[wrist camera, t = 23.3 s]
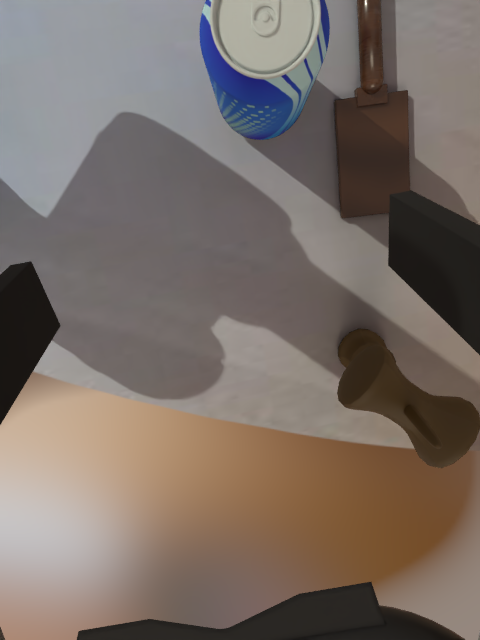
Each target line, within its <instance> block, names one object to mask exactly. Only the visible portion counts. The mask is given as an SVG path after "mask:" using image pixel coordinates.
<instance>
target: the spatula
mask: <svg viewBox="0 0 480 640" xmlns="http://www.w3.org/2000/svg"><path fill="white" fill-rule="evenodd" d="M357 10H358V32H359V55H360V78H361V88H357V89H356V90H355V98H347V99H340V100H335V102H334V108H335V125H336V143H337V160H338V177H339V194H340V211H341V218H348V217H357V216H365V215H373V214H382V213H389V203H390V194H395V193H400V192H406V191H410V178H409V128H408V90H406V91H398V92H391V93H387V84H383V55H382V24H381V0H357Z"/></svg>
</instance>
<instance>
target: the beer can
mask: <svg viewBox="0 0 480 640" xmlns="http://www.w3.org/2000/svg"><path fill="white" fill-rule="evenodd" d="M329 29H330V26H329V16H328V10H327V6H326V3H325V0H206V2H205V5H204V8H203V11H202V16H201V22H200V45H201V51H202V55H203V58H204V61H205V65H206V68H207V71H208V74H209V77H210V81H211V84H212V87H213V90H214V93H215V96H216V100H217V103H218V106H219V109H220V112H221V114H222V116H223V118H224V119H225V121H226V122H227V123H228V125H229V126H230V127H231V128H232V129H233V130H235V131H236V132H237V133H239V134H241V135H242V136H245V137H247V138H251V139H257V140H264V139H270V138H274V137H276V136H278V135H281V134H282V133H284V132H285V131H287V130H288V129H289V128H290V127H291V126H292V125H293V124H294V123H295V121H296V120H297V119H298V117H299V115H300V113H301V111H302V109H303V107H304V105H305V102H306V100H307V98H308V95H309V93H310V91H311V88H312V86H313V84H314V82H315V79H316V77H317V75H318V72H319V70H320V68H321V65H322V63H323V61H324V58H325V55H326V51H327V47H328V42H329Z"/></svg>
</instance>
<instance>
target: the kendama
mask: <svg viewBox="0 0 480 640" xmlns="http://www.w3.org/2000/svg"><path fill="white" fill-rule="evenodd" d="M338 357H339V359H340V361H341V363H342V364H343V365H344V366H345V367H346V370H345V371H344V373H343V375H342V377H341V379H340V381H339V386H338V392H337V394H338V399H339V401H340V402H341V403H342V404H343V405H344V406H345V407H346V408H349V409H355V410H364V411H371V412H376V413H379V414H381V415H383V416H385V417H387V418H389V419H391V420H392V421H394V422H395V423H397V424H398V425H399V426H401V427H402V428H403V429H404V430H405V432H406V433H407V434H408V436H409V438H410V439H411V442H412V444H413V446H414V448H415V450H416V452H417V454H418V455H419V457H420V458H421V459H422V460H423V461H424V462H426V464H428V465H429V466H433V467H438V468H443V467H446V466H448V465H451V464H453V463H455V462H456V461H457V460H458V459H460V458H461V457H462V456H463V455H464V454H466V453H467V451H468V450H469V448H470V447H471V446H472V444H473V443H474V441H475V440H476V438H477V435H478V432H479V429H480V417H479V413H478V411H477V410H476V408H475V407H474V406H473V404H472V403H471V402H469V401H467V400H465V399H463V398H460V397H447V396H434V395H430V394H428V393H426V392H424V391H423V390H421V389H420V388H418V387H417V386H415V385H414V384H413V383H411V382H410V381H409V380H408V379H407V378H406V377H405V376H404V375H403V374H402V373H401V371H400V370H399V368H398V366H397V365H396V361H395V358H394V356H393V354H392V353H391V352H390V351H389V350H388V349H387V347H386V345H385V343H384V340H383V339H382V338H381V337H380V336H379V335H378V334H376V333H374V332H372V331H370V330H368V329H357V330H355V331H352V332H350V333H349V334H348V335H347V336H346V337H345V338H343V340H342V342H341V344H340V346H339V350H338Z"/></svg>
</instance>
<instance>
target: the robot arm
mask: <svg viewBox="0 0 480 640" xmlns="http://www.w3.org/2000/svg"><path fill="white" fill-rule="evenodd" d="M388 265H389V266H390V267H391V268H392V269H393V270H394V271H395V272H396V273H397V274H398V275H399V276H400V277H401V278H402V279H403V280H404V281H405V282H406V283H407V284H408V285H409V286H410V287H411V288H412V289H413V290H414V291H415V292H416V293H417V294H418V295H419V296H420V297H421V298H422V299H423V300H424V301H425V302H426V303H427V304H428V305H429V306H430V307H431V308H432V309H433V310H434V311H435V312H436V313H437V314H438V315H439V316H440V317H442V318H443V319H444V320H445V321H446V322H447V323H448V324H449V325H450V326H451V327H452V328H453V329H454V330H455V331H456V332H457V333H458V334H459V335H460V336H461V337H462V338H463V339H464V340H465V341H466V342H467V343H468V344H469V345H470V346H471V347H472V348H473V349H474V350H475V351H476V352H477V353H478V354H479V355H480V225H478V224H476V223H474V222H472V221H470V220H468V219H466V218H464V217H462V216H460V215H458V214H456V213H454V212H452V211H450V210H448V209H446V208H444V207H442V206H440V205H438V204H437V203H435V202H433V201H431V200H429V199H427V198H425V197H423V196H421V195H419V194H417V193H415V192H413V191H406V192H400V193H395V194H390V203H389V258H388ZM59 327H60V323H59V321H58V319H57V317H56V315H55V312H54V310H53V308H52V306H51V304H50V301H49V299H48V297H47V295H46V293H45V290H44V288H43V286H42V284H41V282H40V279H39V277H38V275H37V273H36V271H35V268H34V266H33V264H32V262H25V263H20V264H15V265H10V266H9V267H8V268H7V269H6V270H5V271H4V272H3V273H2V274H1V275H0V424H1V423H2V421H3V420H4V418H5V416H6V415H7V413H8V411H9V410H10V408H11V406H12V405H13V403H14V401H15V400H16V398H17V396H18V395H19V393H20V391H21V390H22V388H23V386H24V385H25V383H26V382H27V379H28V378H29V377H30V375H31V373H32V372H33V370H34V368H35V367H36V365H37V363H38V362H39V360H40V358H41V357H42V355H43V353H44V352H45V350H46V349H47V347H48V345H49V344H50V342H51V340H52V339H53V337H54V335H55V334H56V332H57V330H58V329H59ZM0 640H5V638H4V636H3V633H2V630H1V628H0ZM77 640H465V639H464V638H462V637H461V636H459V635H457V634H456V633H455V632H453V631H451V630H449V629H447V628H446V627H444V626H442V625H440V624H438V623H436V622H434V621H432V620H429V619H427V618H425V617H422V616H420V615H417V614H415V613H412V612H409V611H405V610H401V609H397V608H394V607H387V606H380V605H379V604H378V601H377V598H376V595H375V592H374V589H373V586H372V583H371V582H367V583H361V584H356V585H350V586H343V587H338V588H332V589H326V590H320V591H314V592H308V593H302V594H298V595H296V596H294V597H292V598H290V599H288V600H285V601H283V602H281V603H279V604H277V605H275V606H273V607H271V608H269V609H267V610H265V611H263V612H261V613H259V614H257V615H255V616H253V617H251V618H249V619H247V620H245V621H242V622H240V623H238V624H236V625H234V626H232V627H230V628H226V629H214V628H207V627H200V626H194V625H187V624H179V623H172V622H166V621H159V620H152V619H148V620H141V621H136V622H130V623H124V624H118V625H112V626H106V627H100V628H94V629H88V630H82V631H79V632H78V637H77ZM478 640H480V634H479V638H478Z"/></svg>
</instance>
